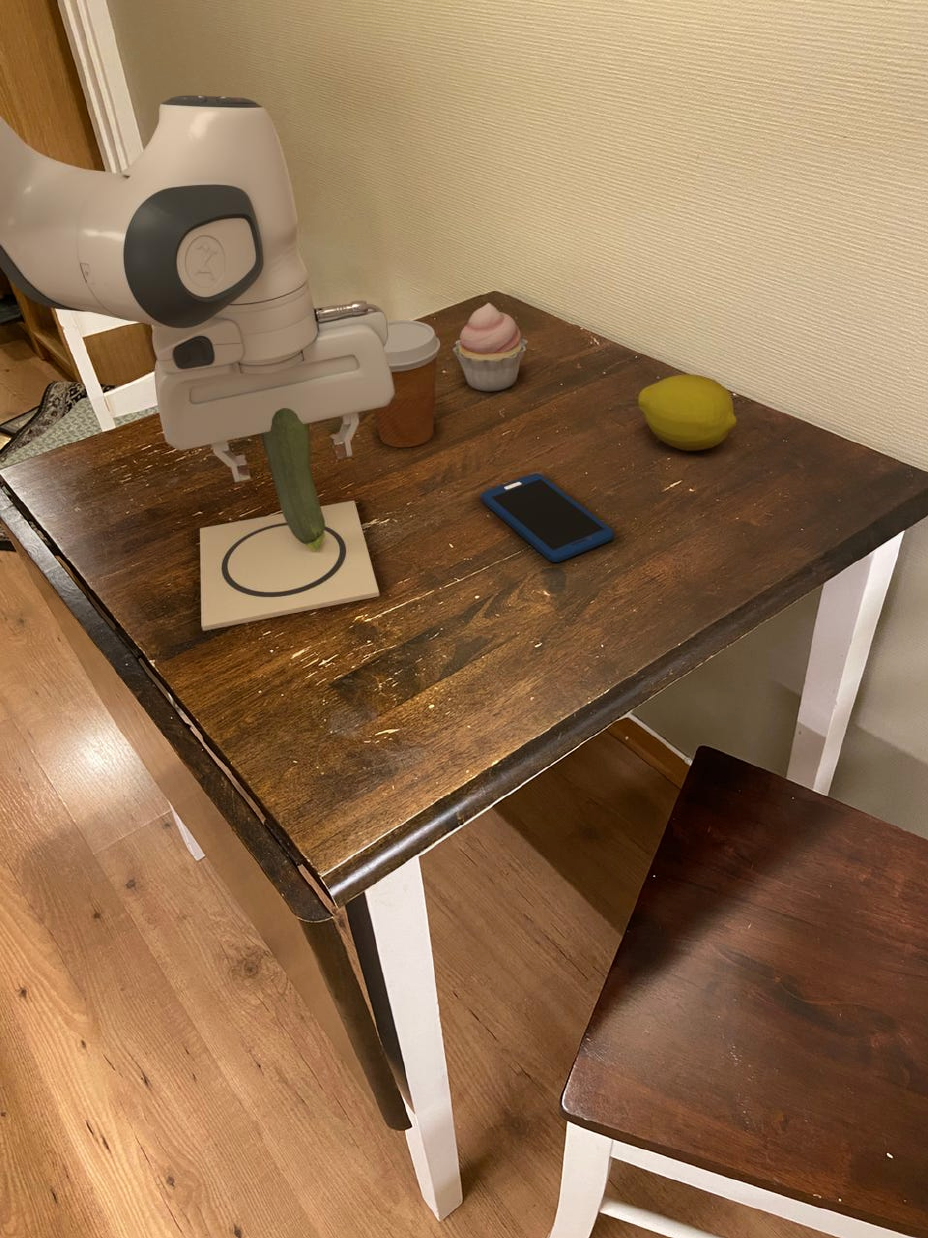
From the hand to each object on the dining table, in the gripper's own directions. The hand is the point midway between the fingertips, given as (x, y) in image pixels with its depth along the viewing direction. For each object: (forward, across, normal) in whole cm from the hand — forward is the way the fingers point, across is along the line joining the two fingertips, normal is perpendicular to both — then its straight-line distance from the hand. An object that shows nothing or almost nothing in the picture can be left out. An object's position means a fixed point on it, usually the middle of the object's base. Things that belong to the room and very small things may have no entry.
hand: (293, 466), depth 81 cm
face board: (+9, +3, +1) cm, 10 cm away
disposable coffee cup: (+10, -15, -18) cm, 25 cm away
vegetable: (+9, 0, 0) cm, 9 cm away
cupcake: (+10, -29, -27) cm, 41 cm away
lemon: (+10, -43, -3) cm, 44 cm away
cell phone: (+10, -23, +5) cm, 25 cm away
